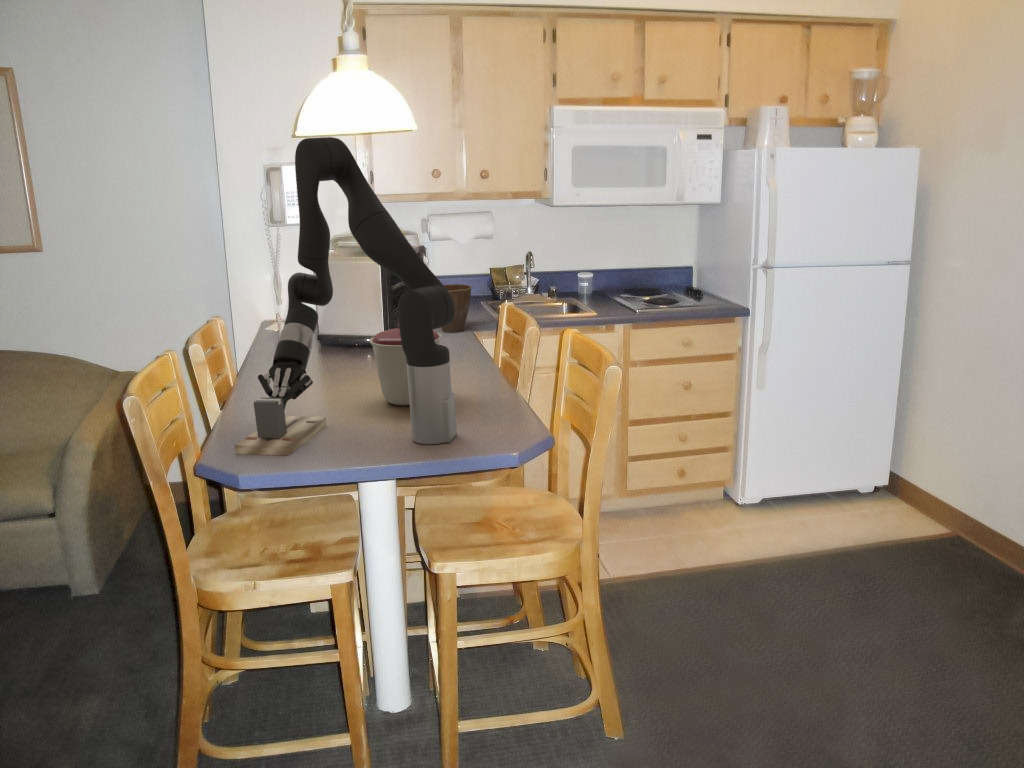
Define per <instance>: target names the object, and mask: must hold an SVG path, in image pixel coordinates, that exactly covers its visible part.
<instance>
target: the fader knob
mask: <svg viewBox="0 0 1024 768" xmlns="http://www.w3.org/2000/svg"><path fill="white" fill-rule="evenodd" d="M253 409H254V416H255V424H256V430H257V433H258V438H281V437H282V436H283V435H285V434H286V433H287V429H286V421H285V416H286V415H285V410H284V404H283V398H270V397H260V398H257V399H256V400H255V401H253Z"/></svg>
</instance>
